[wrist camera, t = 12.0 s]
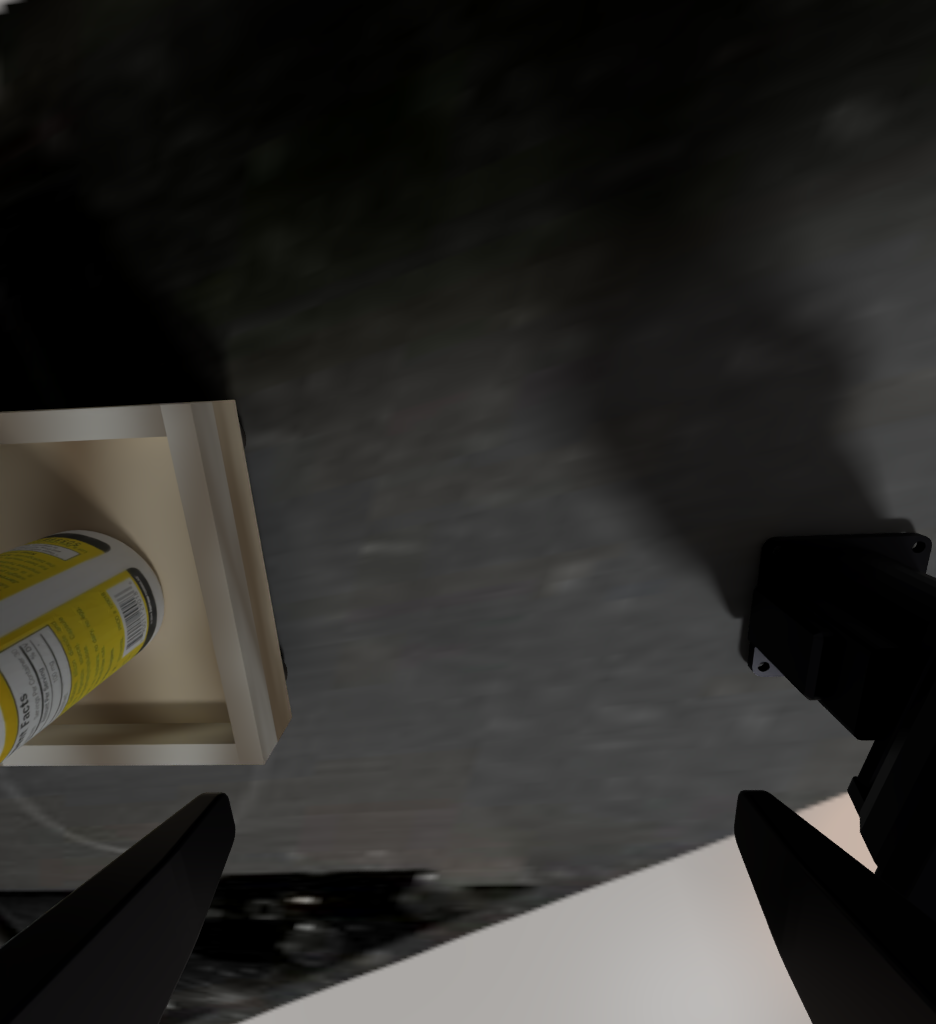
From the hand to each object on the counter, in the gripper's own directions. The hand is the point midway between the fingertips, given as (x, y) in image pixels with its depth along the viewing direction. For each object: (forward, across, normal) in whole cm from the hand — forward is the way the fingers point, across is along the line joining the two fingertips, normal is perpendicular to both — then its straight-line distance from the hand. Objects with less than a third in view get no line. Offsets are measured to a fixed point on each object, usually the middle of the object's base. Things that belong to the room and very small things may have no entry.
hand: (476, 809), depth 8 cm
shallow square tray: (+13, +15, 0) cm, 20 cm away
